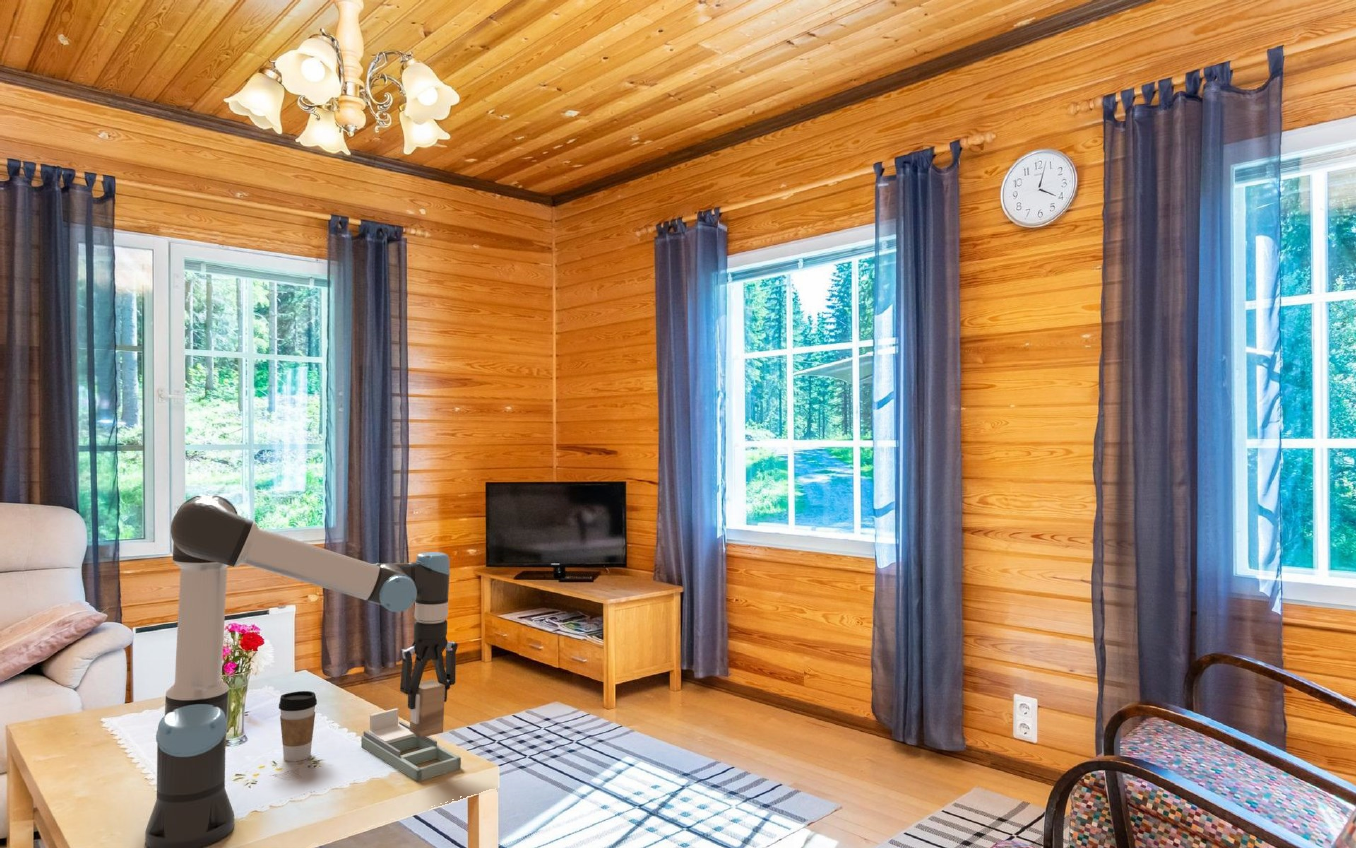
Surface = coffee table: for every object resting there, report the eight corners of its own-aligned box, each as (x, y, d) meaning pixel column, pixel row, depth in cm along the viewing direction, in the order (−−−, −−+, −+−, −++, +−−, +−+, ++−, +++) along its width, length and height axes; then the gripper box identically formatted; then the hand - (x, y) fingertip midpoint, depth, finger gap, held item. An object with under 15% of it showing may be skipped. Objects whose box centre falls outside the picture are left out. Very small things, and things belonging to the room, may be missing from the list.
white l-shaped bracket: (415, 736, 214) (415, 717, 214) (384, 744, 208) (385, 724, 208) (398, 726, 220) (398, 707, 220) (367, 734, 215) (368, 715, 215)
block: (443, 732, 201) (445, 685, 201) (421, 737, 197) (423, 689, 197) (431, 726, 205) (432, 679, 205) (409, 731, 201) (411, 683, 201)
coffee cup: (269, 759, 205) (270, 696, 205) (300, 747, 212) (301, 686, 212) (293, 766, 201) (294, 702, 201) (324, 754, 208) (324, 692, 208)
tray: (460, 768, 202) (460, 752, 202) (417, 781, 194) (417, 765, 194) (402, 735, 222) (403, 721, 222) (361, 746, 214) (361, 731, 214)
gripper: (457, 611, 210) (453, 707, 210) (385, 622, 197) (381, 723, 197) (474, 617, 205) (470, 715, 205) (401, 628, 192) (397, 732, 192)
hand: (426, 719), depth 201 cm, fingers closed on block, 5 cm apart
